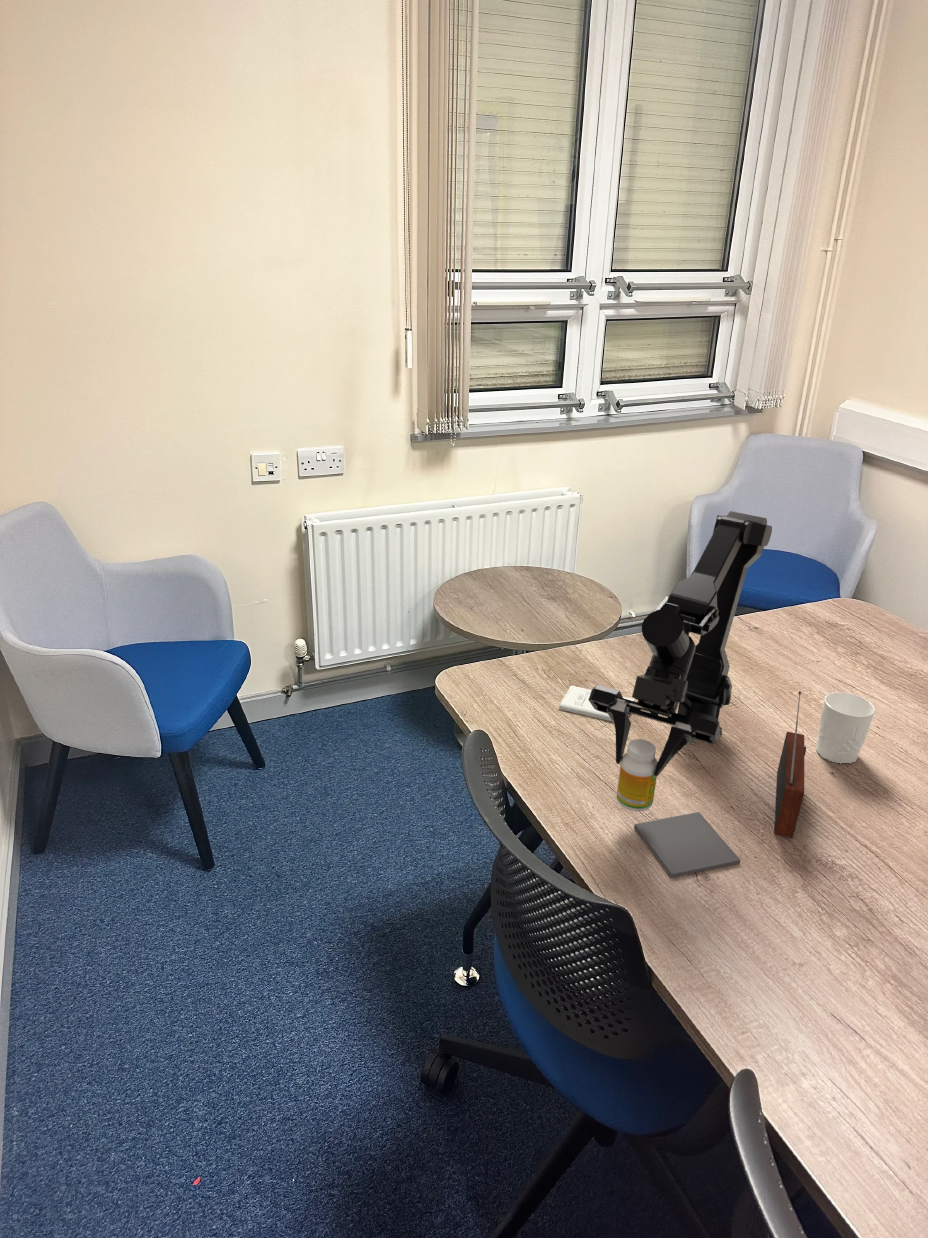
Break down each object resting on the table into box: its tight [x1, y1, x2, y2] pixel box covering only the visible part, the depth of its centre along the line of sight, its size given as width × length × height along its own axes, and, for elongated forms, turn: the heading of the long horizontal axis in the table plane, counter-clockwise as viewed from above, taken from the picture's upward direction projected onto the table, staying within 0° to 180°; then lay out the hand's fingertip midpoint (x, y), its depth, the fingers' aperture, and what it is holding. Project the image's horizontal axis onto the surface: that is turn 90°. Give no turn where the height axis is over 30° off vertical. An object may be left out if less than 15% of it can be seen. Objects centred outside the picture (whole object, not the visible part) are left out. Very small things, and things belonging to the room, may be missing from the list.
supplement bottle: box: [616, 738, 659, 812], centre depth 122 cm, size 5×5×10 cm
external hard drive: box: [558, 685, 636, 723], centre depth 156 cm, size 2×8×12 cm
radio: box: [773, 690, 807, 839], centre depth 129 cm, size 19×3×15 cm, turn 160°
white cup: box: [815, 691, 876, 765], centre depth 143 cm, size 8×8×10 cm
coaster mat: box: [633, 811, 741, 878], centre depth 122 cm, size 11×11×1 cm
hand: (636, 769), depth 120 cm, fingers closed on supplement bottle, 5 cm apart
